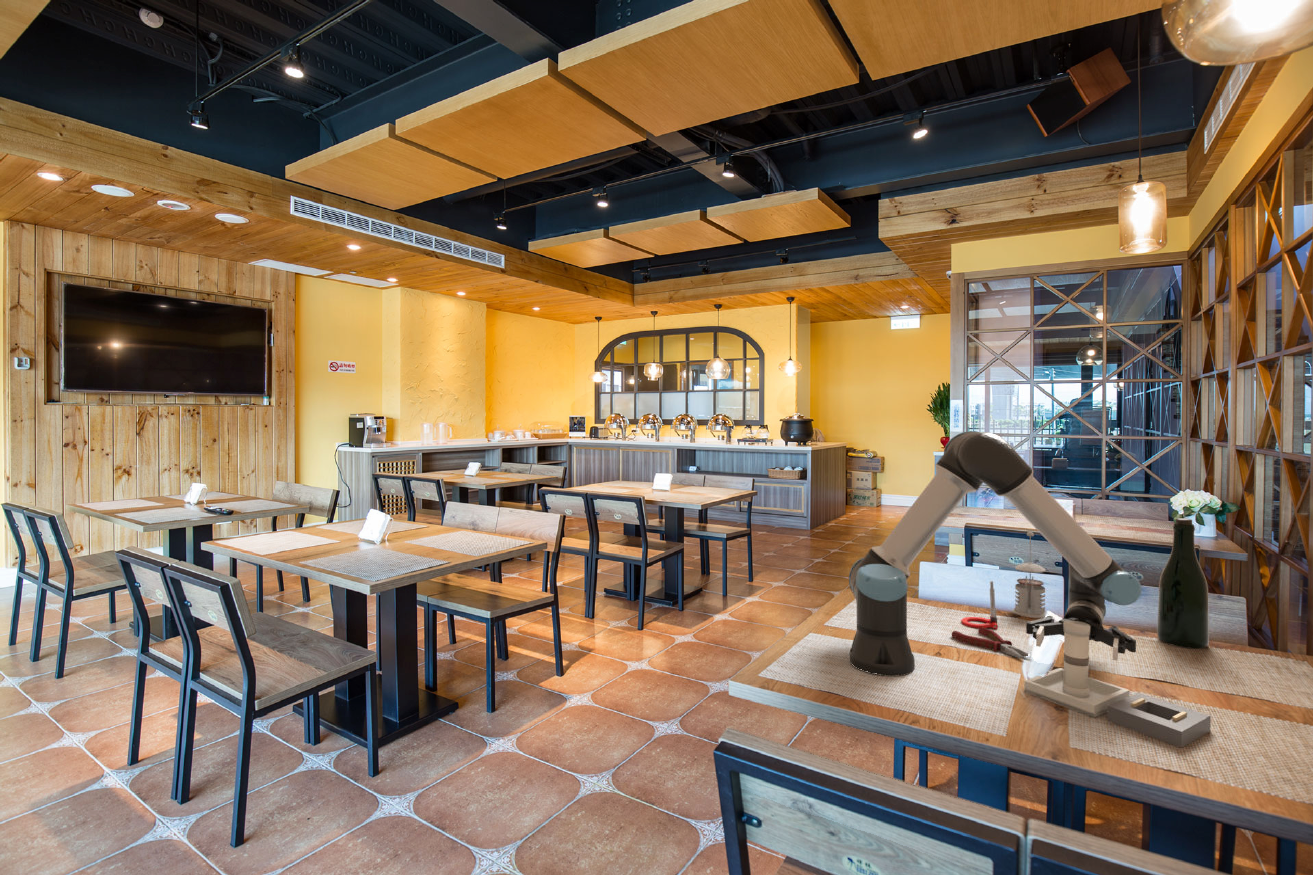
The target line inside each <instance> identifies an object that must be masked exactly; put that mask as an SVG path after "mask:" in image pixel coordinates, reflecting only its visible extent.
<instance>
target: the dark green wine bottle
mask: <svg viewBox="0 0 1313 875" xmlns="http://www.w3.org/2000/svg"><path fill="white" fill-rule="evenodd" d="M1172 529H1173V530H1172V531H1173V537H1172V538H1173V539H1172V540H1173V541H1172V549H1171V552H1170V555H1169V558H1168V559H1167V562H1166V564H1165V565H1164V568H1163V570H1162V572H1161V574H1160V578H1159V586H1158V599H1157V600H1158V601H1157V605H1158V606H1157V637H1158V639H1159V640H1160V641H1161V642H1164V643H1166V644H1168V645H1171V646H1175V647H1180V648H1185V649H1193V650H1194V649H1196V650H1197V649H1199V650H1200V649H1204V648H1205V649H1206V648H1207V647H1208V646H1209V643H1210V616H1209V615H1210V613H1209V612H1210V610H1209V609H1210V608H1209V607H1210V606H1209V605H1210V604H1209V603H1210V601H1209V585H1208V581H1207V579H1206V576H1205V574H1204V570H1203V569H1202V566H1201V565H1200V561H1199V560H1198V557H1197V553H1196V546H1195V544H1196V543H1195V530H1196V527H1195V525H1194V524H1193V519H1190V518H1183V517H1182V518H1181V517H1180V518H1179V517H1178V518H1175V523H1173V526H1172Z"/></svg>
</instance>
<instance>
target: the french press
mask: <svg viewBox="0 0 1313 875" xmlns="http://www.w3.org/2000/svg"><path fill="white" fill-rule="evenodd" d="M1026 536H1027V537H1029V562H1027V563H1026V562H1023V563H1019V564H1018V565H1016V566H1015V567H1014V568H1015V570H1016V571H1018V572H1022V573H1029V578H1028V576H1027V575H1025V578H1018V579H1016V582H1017V583H1016V584H1015V586H1014V588H1015V591H1014V593H1015V595H1014V596H1015V597H1014V598H1015V600H1014V602H1015V604H1014V608H1012V610H1011V612H1012V613H1013V614H1015V615H1018V616H1021V617H1027V618H1034V619H1043V618H1046V617H1045V614H1046V613H1047V612H1046V607H1045V606H1046V602H1045V601H1046V594H1045V593H1046V588H1045V587H1044V586H1043V585H1044V584H1045V583H1044V582H1043V581H1041V580H1038V579H1034V576H1031V575H1032V574H1040V573H1044V572H1045V571H1046V569H1045V568H1044V567H1042V566H1041V565H1039V564H1036V563H1032V561H1031V560H1032V552H1031V551H1032V546H1031V545H1032V544H1031V543H1032V540H1031V538H1032V537H1034V536H1035V534H1034V533H1033V532H1032V531H1027V533H1026Z"/></svg>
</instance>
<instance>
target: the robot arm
mask: <svg viewBox="0 0 1313 875" xmlns="http://www.w3.org/2000/svg"><path fill="white" fill-rule="evenodd" d="M935 470H936V471H935V472H936V473H935V475H934V476H933V478H932V479H931V480H930V482H929V483H928V484H927V485H926V487H925V488H924V489H923V491H922V492H921V493H920V495H918V497H917V498H916V500H915V501H914V502H913V504H912V505H911V506H910V507H909V508H908V510H907V511H906V512H905V514H904V515H903V516H902V517H901V519H900V520H899V521H898V523H897V524H896V526H895V527H894V528H893V529H892V531H891V532H890V533H889V534H888V535H887V537H886V538H885V540H884V541H883V542H882V544H881V545H878V546H872V547H871V548H870V549H869V550H868V552H867V553H866V554H865V556H864V557H862V558H860V559H858V560H857V561H855V562H854V564H852V566H851V568H850V571H849V573H848V584H849V588H850V590H851V592H852V594H853V596H854V599H855V601H856V603H855V604H856V632H855V634H854V637H853V640H852V643H851V647H850V649H849V659H850V661H849V663H850V662H851V663H852V664H853V665H854V666H855V667H857V668H859V669H862V670H864V671H868V672H870V673H869V674H872V673H877V674H881V675H880V676H884V675H899V676H905V675H908V674H907V673H909V674H910V672H911V673H913V672H914V671H915V668H916V666H915V656H914V654H913V652H912V648H911V645H910V642H909V638H908V633H907V632H908V630H907V629H908V625H907V624H908V615H907V614H908V589H909V588H908V579H909V577H910V576H911V573H910V566H911V565H912V563H913V562H914V561H915V559H916V558H917V557H918V555H919V554H920V553H922V550H923V549H924V548H925V546H927V544H928V543H929V541H930V540H931V539H932V538H933V536H934V535H935V534H936V533H937V531H938V530H939V529H940V528H941V527H942V525H943V524H944V523H945V521H946V520H947V519H948V517H949V516H950V515H951V514H952V512H953V511H954V510H955V508H957V506H958V504H960V502H961V501H962V500H963V498H964V497H965V496H966V495H967V494H971V493H976V492H977V491H978V490H979V488H980V487H981V486H982V485H983V484H985V486H987V487H989V489H991V491H993V492H994V493H995V494H996V496H997V497H1005V499H1007V500H1008V501H1009V502H1010V503H1011V504H1012V505H1013V506H1014V507H1015V508H1016V510H1017V511H1018V512H1019V513H1020V514H1021V515H1022V516H1023V517H1024V518H1025V519H1026V521H1028V522H1029V524H1031V525H1032V526H1033V527H1034V529H1036V530H1037V531H1038V532H1039V534H1040V535H1041V536H1042V537H1043V538H1044V539H1045V540H1046V541H1048V543H1049V544H1050V545H1051V546H1052V547H1053V548H1054V549H1055V550H1056V552H1058V553H1059V554H1060V556H1062V557H1063V558H1064V559H1065V560H1066V562H1067V563H1068V605H1067V606H1068V607H1067V610H1066V612H1065V614H1064V616H1063V618H1062V619H1060V620H1055V618H1054V616H1052V615H1049V616H1047V617H1044V618H1037V619H1035V620H1031V621H1026V623H1025V633H1026V634H1028V635H1032V638H1033V639H1034V640H1036V642H1035V644H1036V647H1039V648H1040V647H1041V646H1042V644H1043V642H1044V639H1045V637H1048V636H1058V635H1059V636H1060V635H1061V636H1063V637H1064V631H1063V622H1064V621H1079V622H1084V623H1087V624H1089V625H1090V635H1089V641H1094V642H1096V643H1098V642H1101V643H1103V644H1105V645H1107V646H1108V647H1109V646H1110V648H1112V660H1113V661H1117V662H1118V658H1119V654H1123V655H1124V654H1126V650H1127V651H1128V652H1131V653H1136V652H1137V640H1136V639H1134V638H1133V637H1131V636H1130V635H1128V634H1126V633H1125V632H1123V631H1122V630H1120V629H1119V627H1118V626H1116V625H1111V627H1110V626H1109V627H1108V628H1105V627H1104V626H1103V624H1104V618H1105V616H1106V614H1107V612H1106V611H1107V609H1106V607H1107V606H1106V601H1107V602H1108V603H1111V604H1112V603H1113V604H1115V605H1118V606H1129V605H1133V604H1134V603H1136V602H1137V601H1138V600H1139V599H1140V597H1141V595H1142V590H1143V589H1142V585H1141V582H1140V581H1139V579H1138V578H1137V577H1135V576H1134V575H1133V574H1131V573H1130V572H1128V571H1125V570H1124V569H1123V568H1122V567H1121V566H1120V565H1119V564H1118V563H1117V562H1116V561H1115V560H1114V559H1113V558H1112V557H1111V556H1110V555H1109V554H1108V553H1107V552H1106V551H1105V550H1104V548H1102V547H1101V545H1100V544H1099V543H1098V542H1097V541H1096V540H1095V539H1094V538H1093V537H1091V535H1090V534H1089V533H1088V532H1087V531H1086V530H1085V529H1084V528H1083V527H1082V526H1081V525H1080V524H1079V523H1078V521H1076V520H1075V518H1074V517H1072V515H1071V514H1069V512H1068V511H1067V510H1066V509H1065V508H1064V507H1063V506H1062V504H1060V503H1059V502H1058V501H1057V500H1056V499H1055V498H1054V496H1052V495H1051V494H1050V493H1049V492H1048V490H1047V489H1046V488H1045V487H1044V486H1043V485H1042V484H1041V483H1040V482H1039V481H1038V479H1036V478H1035V477H1034V469H1033V468H1032V467H1031V466H1030V465H1029V464H1028V463H1027V462H1026V461H1025V460H1024V459H1023V457H1022V456H1021V455H1020V454H1019V453H1018V452H1017V451H1016V450H1015V449H1014V448H1013V447H1012V446H1011V445H1010V444H1009V443H1008V441H1006V440H1005V439H1004V438H1003V437H1002V436H999V435H998V434H996V433H992V432H981V431H978V430H977V431H976V430H967V431H963V432H961V433H957V434H956V435H955V436H953V437H952V438H950V439H949V440H948V442H947V443H946V444H945V447H944V451H943V455H942V456H941V457H940V458H939V460H938V461H937V462H936V464H935ZM1105 600H1106V601H1105ZM851 663H850V664H851ZM852 664H851V665H852ZM853 665H852V666H853ZM854 666H853V667H854ZM855 667H854V668H855ZM857 668H856V669H857ZM859 669H858V670H859ZM862 670H861V671H862ZM864 671H863V672H864ZM868 672H867V673H868ZM877 674H876V675H877ZM904 674H905V675H904Z"/></svg>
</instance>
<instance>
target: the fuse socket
mask: <svg viewBox="0 0 1313 875" xmlns="http://www.w3.org/2000/svg"><path fill="white" fill-rule="evenodd" d="M1211 718H1212V717H1211V715H1210V714H1207V713H1203V712H1200V711H1197V710H1194V709H1191V708H1188V707H1185V706H1182V705H1178V704H1175V703H1172V702H1170V701H1166V700H1163V699H1161V698H1157V697H1153V696H1151V695H1148V694H1145V693H1141V692H1135V693H1133V694H1131V695H1129V697H1127V698H1124V699H1122V700H1120V701H1118V702H1116V703H1113V704H1111V705H1109V706H1108V712H1107V721H1108V722H1110V723H1112V724H1116V725H1118V726H1121V727H1123V728H1126V729H1129V730H1131V731H1135V732H1137V733H1140V734H1143V735H1146V736H1148V737H1151V738H1154V739H1156V740H1159V741H1162V742H1165V743H1168V744H1170V745H1173V746H1175V747H1178V748H1180V749H1182V748H1184V747H1185V746H1187V745H1189V744H1191V743H1192V742H1194V741H1196V740H1197V739H1200V738H1201V737H1203V736H1205V735H1206V734H1208V733H1210V732H1211V724H1212V722H1211V721H1212V720H1211Z"/></svg>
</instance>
